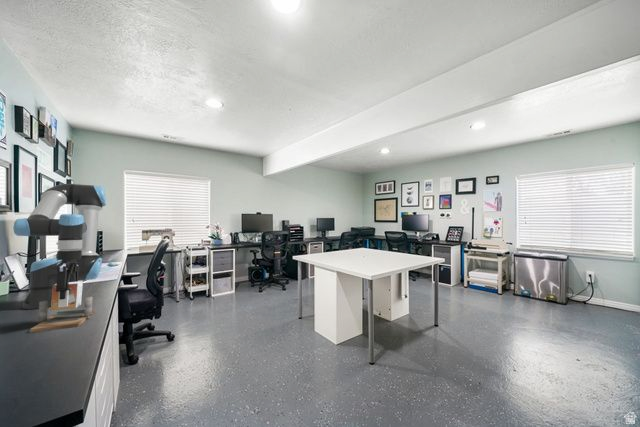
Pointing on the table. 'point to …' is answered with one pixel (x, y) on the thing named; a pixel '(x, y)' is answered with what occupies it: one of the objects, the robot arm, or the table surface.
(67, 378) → the table surface
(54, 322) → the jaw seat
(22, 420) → the table surface
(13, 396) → the table surface
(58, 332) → the table surface
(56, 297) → the small box
